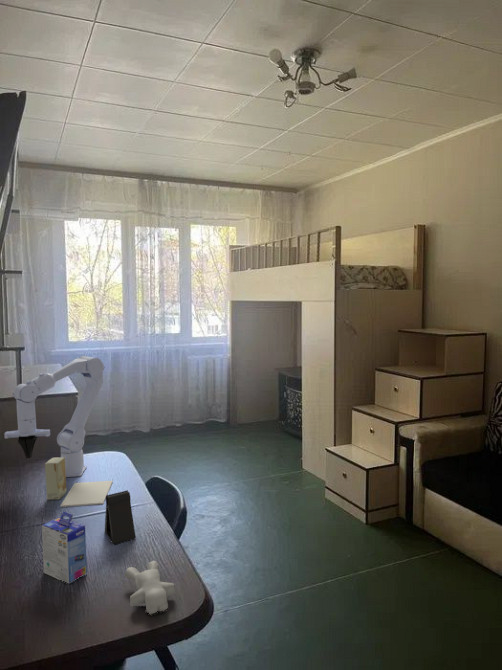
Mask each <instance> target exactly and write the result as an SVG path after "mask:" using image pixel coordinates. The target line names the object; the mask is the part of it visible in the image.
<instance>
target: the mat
mask: <svg viewBox="0 0 502 670" xmlns="http://www.w3.org/2000/svg"><path fill="white" fill-rule="evenodd" d="M113 483H114V482H113V480H105V481H104V480H101V481H85V482H83V481H82V482H74V484H73V485H72V487H71V488H70V490H69V492H67V493H66V494H67V495H65V498H64V499H63V501H62V502H61V504H60V508H67V507H80V506H81V507H82V506H97V505H98V506H99V505H104V503H105V502H106V495H109V492H110V490H111V487H112V485H113Z"/></svg>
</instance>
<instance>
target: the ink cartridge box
mask: <svg viewBox="0 0 502 670" xmlns="http://www.w3.org/2000/svg"><path fill="white" fill-rule="evenodd" d="M73 516H74V514H72V513H68V512H66V511H63V512H62V514H61V515H60V516H59V517H57V518H54V519H52V520H49V521H48V522H46V523H44V524H42V525H41V532H42V533H41V534H42V535H41V536H42V537H41V538H42V558H43V559H42V560H43V574H46V575H48V576H50V577H52V578H54V579H57V580H58V581H60V580H62V581H61V582H63V581H65V582H67V583H70V582H72V581H73V580H75V579H77V578H78V577H80V576H82V575H84V574H85V573H87V574H88V564H87V563H88V561H87V542H86V541H87V540H86V537H87V536H86V525H85V524H81V523H78V522H75V521H72V519H73ZM64 517H68V519H66V518H64ZM65 582H64V583H65ZM67 583H66V584H67ZM72 583H73V582H72Z"/></svg>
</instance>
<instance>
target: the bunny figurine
mask: <svg viewBox="0 0 502 670" xmlns="http://www.w3.org/2000/svg"><path fill="white" fill-rule="evenodd" d="M146 567H147V569H145V570H143V571H141V572H140V571H139V570H138V569H137V568H135V567H133V566H128V567H127V568H126V570H125V573H124V577H125V578H127V579H129V580H131V581H133V582H134V585H135V590H137V591H135V592H134V593H133V594H131V595H130V596H129V597H130V598H129V600H130V601H129V602H130V603H129V605H130V607H131V608H134V607H133V606H135V605H139V604H143V603H145V606H146V609H147V611H148V612H149V614H151V613H155V612H157V611H158V610H159V611H162V610H165V609H167V608H168V609H169V604H168V603H169V602H168V599H167V597H166V596H169V595H172V594H173V595H175V584H174V582H167V581H165V582H164V581H161V579H160V577H161V575H160V571H159V568H160V566H159V563H158V562H157V561H156V560H152V561H150V562H148V563H147V565H146ZM173 595H172V596H173ZM145 606H144V607H145ZM159 611H158V612H159ZM158 612H157V613H158ZM149 614H148V615H149Z"/></svg>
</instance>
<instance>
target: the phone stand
mask: <svg viewBox="0 0 502 670" xmlns="http://www.w3.org/2000/svg"><path fill="white" fill-rule="evenodd" d="M131 502H132V501H131V493H130V491H129V490H128V489H127V490H124V491H120V492H115V493H110V494H107V495H106V499H105V515H104V516H105V517H104V533H105V534H106V536H107V537H108V538H109V540H110V542H111V541H112V542H111V543H112V545H113V544H114V545H113V546H115V545H118V543H119V544H122V543H124V541H126V542H128V541H127V540H129V541H131V540H130V539H132V540H135V539H134V538H136V537H137V536H136V532H135V530H136V529H135V524H134V518H133V517H134V516H133V510H132V503H131ZM136 539H137V538H136ZM121 542H122V543H121Z"/></svg>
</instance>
